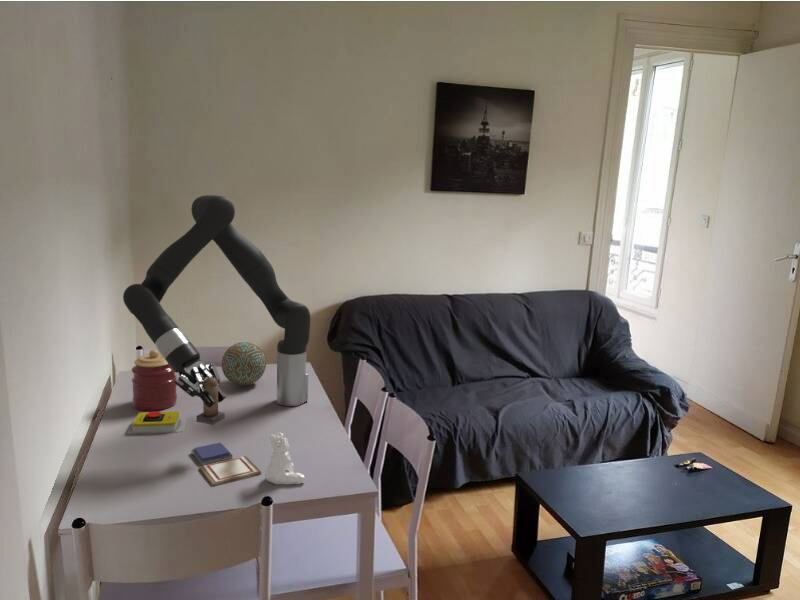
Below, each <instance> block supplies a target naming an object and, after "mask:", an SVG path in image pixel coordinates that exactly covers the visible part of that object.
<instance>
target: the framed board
mask: <svg viewBox="0 0 800 600" xmlns="http://www.w3.org/2000/svg"><path fill="white" fill-rule="evenodd" d="M198 469H199V471H200V472H201V473H202V474H203V476H204V478H206V479H207V481H208V482H209V483H210V484H211V486H212V487H215V486H219V485H223V484H227V483H231V482H234V481H239V480H242V479H243V480H244V479H247V478H251V477H255V476H258V475H262V471H261V470H260V469H259V468H258V467H257V466H256V465H255V464H254V462H252V461H251V460H250V459H249V458H248V457H247V456H246V455H244V456H239V457H235V458H232V459H228V460H224V461H219V462H215V463H210V464H206V465H202V466H201V465H200V466H199V467H198Z"/></svg>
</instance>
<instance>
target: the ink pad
mask: <svg viewBox="0 0 800 600" xmlns="http://www.w3.org/2000/svg"><path fill="white" fill-rule="evenodd" d="M190 452H191V455H192V456H193V457H194V459H195V460H196V461H197V462H198V463H199V465H200V466H204V465H208V464H212V463H217V462H221V461H225V460H230V459H233V454H232V453H231V452H230V451H229V450H228V448H226V446H224V444H223V443H222V442H215V443H211V444H206V445H202V446H201V445H200V446H196V447H193V449H191V451H190Z"/></svg>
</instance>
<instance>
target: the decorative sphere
mask: <svg viewBox="0 0 800 600" xmlns="http://www.w3.org/2000/svg"><path fill="white" fill-rule="evenodd" d="M266 367H267V360H266V356H265V354H264V352H263V350H262V349H261V348H260V347H259V346H257V345H256V344H254V343H251V342H247V341H245V342H244V341H243V342H237V343H235V344H233V345H231V346H230V347H228V348H227V349H226V351H225V352H224V354H223V356H222V359H221V371H222V373H223V375H224V377H225V378H226V379H227V380H228V381H229V382H231V383H232V384H234V385H237V386H250V385H252V384H254V383H256V382H258V381H259V380H260V379H261V378H262V376H263V375H264V373H265V370H266Z"/></svg>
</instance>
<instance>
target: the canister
mask: <svg viewBox="0 0 800 600" xmlns="http://www.w3.org/2000/svg"><path fill="white" fill-rule="evenodd" d="M133 364H135V365H134V366H132V368H131V372H132V373H133V376H132V379H131V382H132V403H133V407H134V408H135V409H137V410H139V411H145V410H146V411H145V412H154V411H161V410H166V409H168V408H171V407H173V406H175V405H176V404H177V401H178V393H177V385H176V384H175V381H176V380H177V379H178V376H177V374H176V372H174V370H173V369H172V368H171V366H170V365H169V364H168V363H167V361H166V360H165V359H164V357H163V356H162V355H161V353H160V352H159V350H158V349H157V350H156V349H151V350H150V351H149V353H146V354H143V355H141V356H139V357H138V358H136V359H135V360H134V362H133Z"/></svg>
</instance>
